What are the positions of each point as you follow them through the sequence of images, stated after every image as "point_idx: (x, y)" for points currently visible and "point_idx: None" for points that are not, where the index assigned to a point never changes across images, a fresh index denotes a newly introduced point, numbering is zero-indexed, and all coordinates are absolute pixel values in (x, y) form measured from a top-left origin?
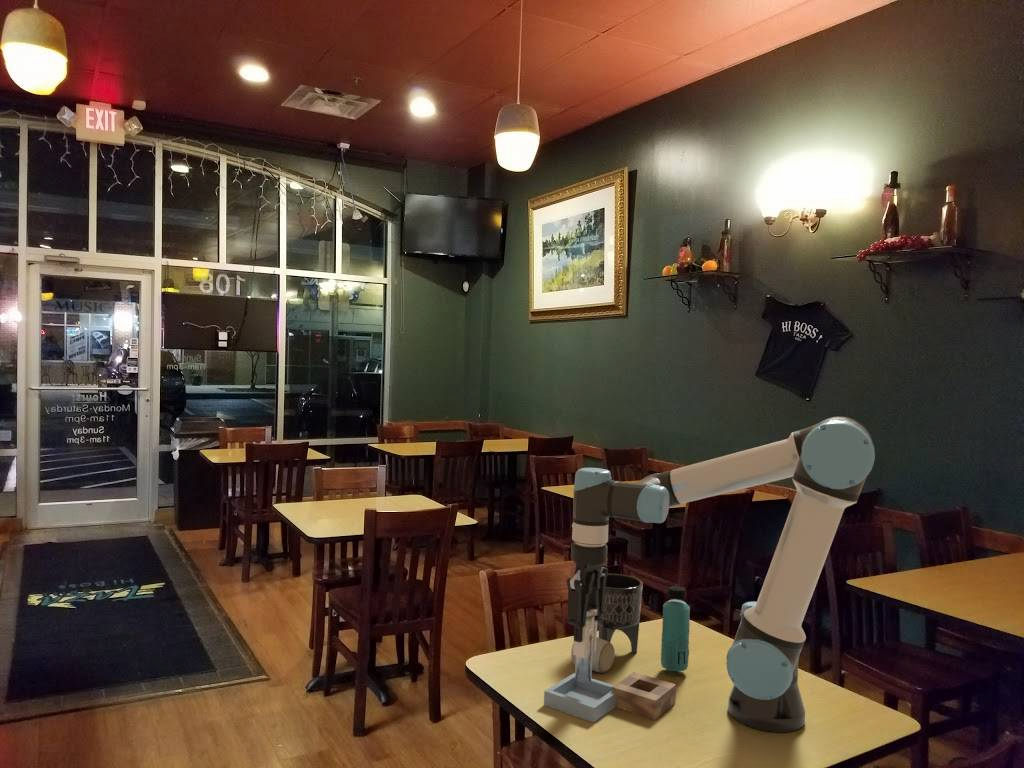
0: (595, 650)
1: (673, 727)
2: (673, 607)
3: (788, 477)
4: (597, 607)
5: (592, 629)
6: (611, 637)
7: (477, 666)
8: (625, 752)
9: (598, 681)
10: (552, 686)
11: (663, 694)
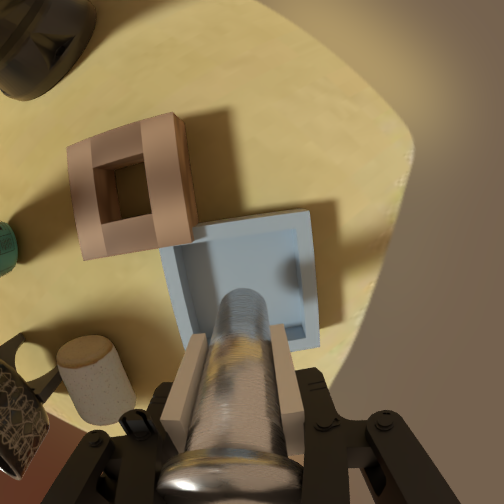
0: (195, 335)
1: (184, 82)
2: None
3: None
4: (138, 483)
5: (232, 392)
6: (38, 378)
7: None
8: (349, 93)
9: (175, 299)
10: None
11: (127, 124)
